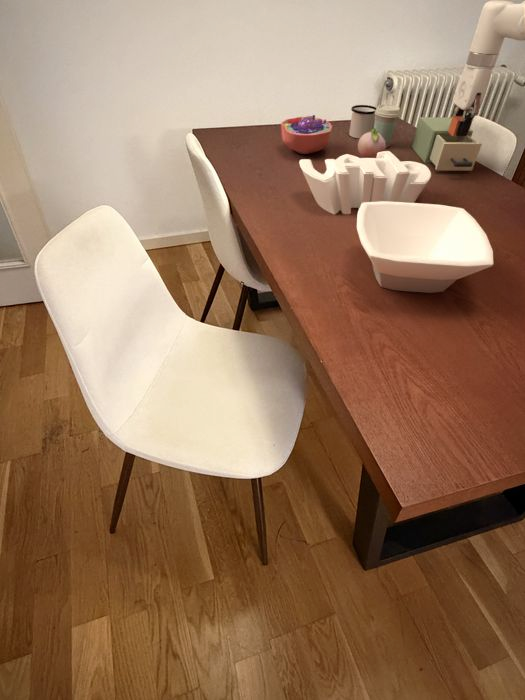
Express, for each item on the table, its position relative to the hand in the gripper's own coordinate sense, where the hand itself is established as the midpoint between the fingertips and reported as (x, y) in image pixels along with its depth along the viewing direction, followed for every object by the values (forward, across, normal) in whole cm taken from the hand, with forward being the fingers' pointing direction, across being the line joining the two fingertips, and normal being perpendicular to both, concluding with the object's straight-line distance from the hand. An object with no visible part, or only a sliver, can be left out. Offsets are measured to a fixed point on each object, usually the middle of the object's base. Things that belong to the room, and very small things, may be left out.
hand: (458, 132), depth 123 cm
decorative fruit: (+10, -4, -25) cm, 27 cm away
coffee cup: (+10, -20, -17) cm, 28 cm away
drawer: (+9, +1, 0) cm, 9 cm away
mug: (+10, -32, -22) cm, 40 cm away
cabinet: (+10, -10, 0) cm, 15 cm away
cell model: (+10, -14, -45) cm, 48 cm away
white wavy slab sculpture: (+10, +26, -33) cm, 43 cm away
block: (+1, 0, 0) cm, 1 cm away
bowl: (+10, +60, -30) cm, 68 cm away
